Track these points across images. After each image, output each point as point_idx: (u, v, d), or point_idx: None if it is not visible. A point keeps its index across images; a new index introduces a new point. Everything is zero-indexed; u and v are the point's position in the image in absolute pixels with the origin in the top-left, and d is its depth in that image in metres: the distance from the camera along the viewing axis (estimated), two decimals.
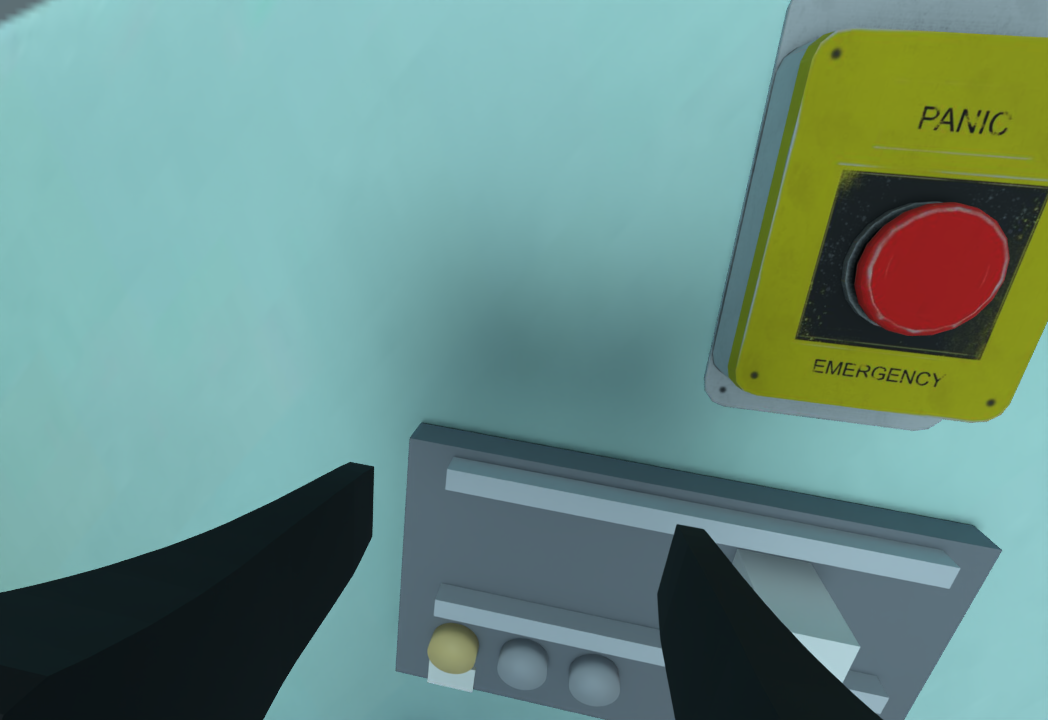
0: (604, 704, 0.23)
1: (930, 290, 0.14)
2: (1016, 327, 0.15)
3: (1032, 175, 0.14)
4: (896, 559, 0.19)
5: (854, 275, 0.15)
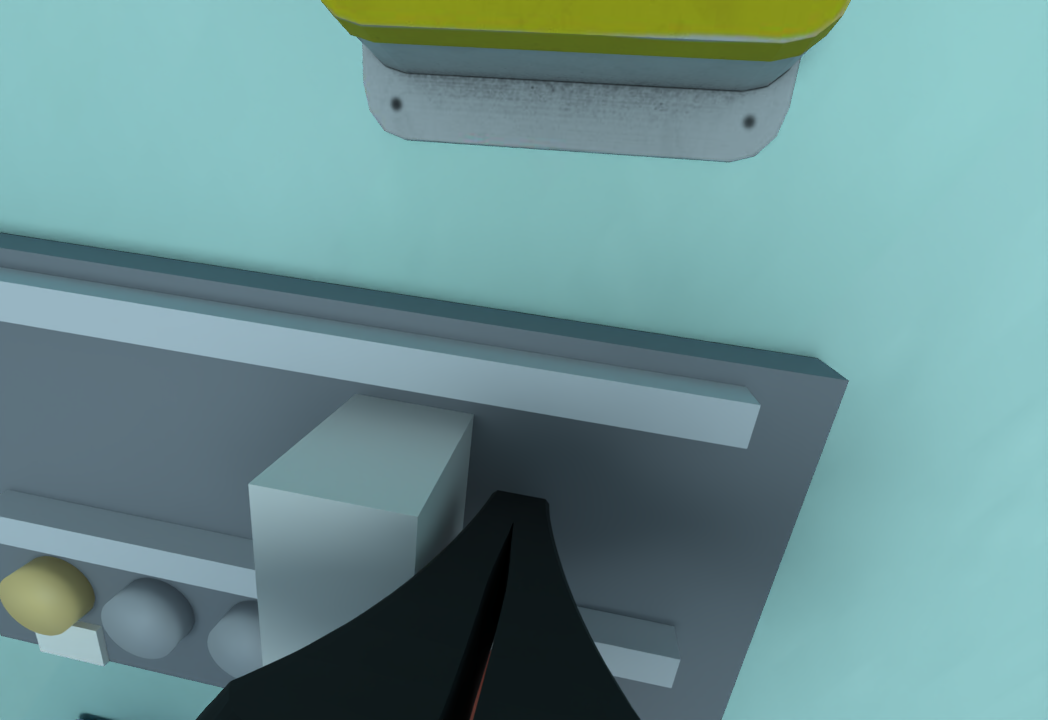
0: None
1: None
2: None
3: None
4: (646, 393, 0.10)
5: None
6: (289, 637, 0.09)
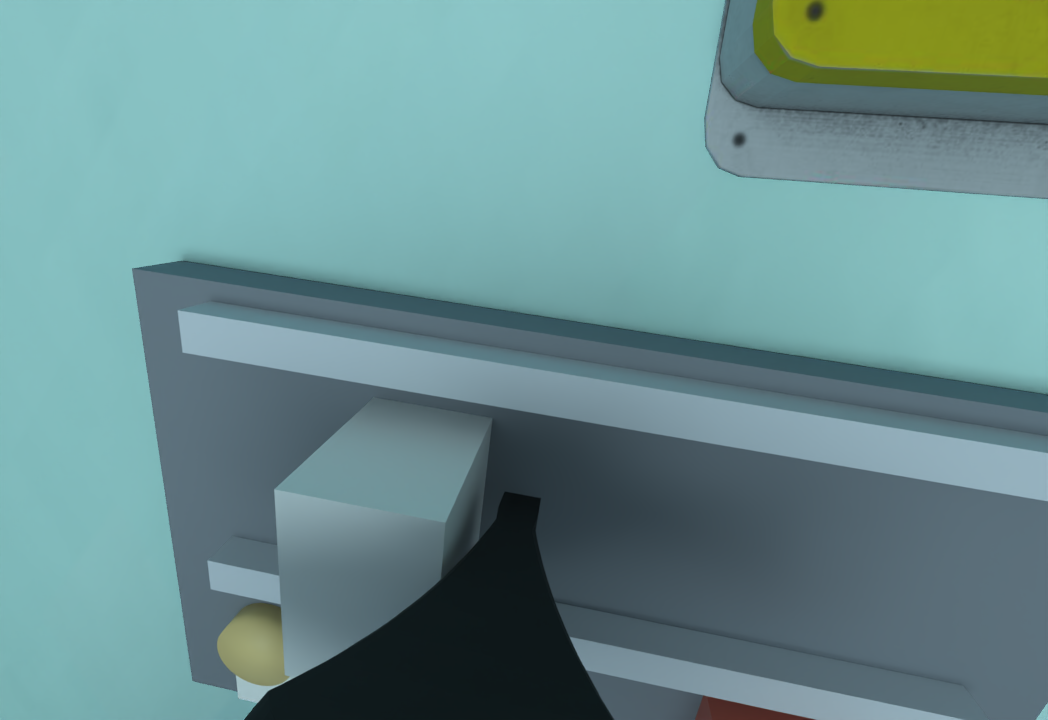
0: None
1: None
2: None
3: None
4: (1027, 457, 0.09)
5: None
6: (312, 643, 0.09)
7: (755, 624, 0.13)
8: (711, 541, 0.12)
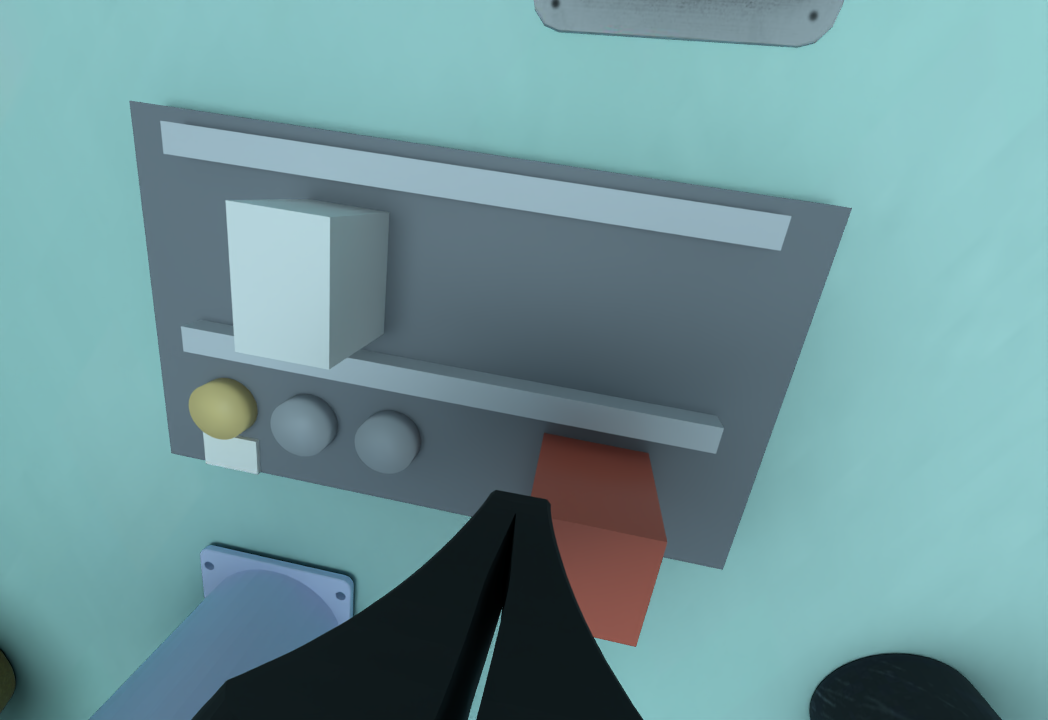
0: (398, 470, 0.19)
1: None
2: None
3: None
4: (711, 210, 0.14)
5: None
6: (252, 322, 0.14)
7: (572, 373, 0.18)
8: (536, 305, 0.17)
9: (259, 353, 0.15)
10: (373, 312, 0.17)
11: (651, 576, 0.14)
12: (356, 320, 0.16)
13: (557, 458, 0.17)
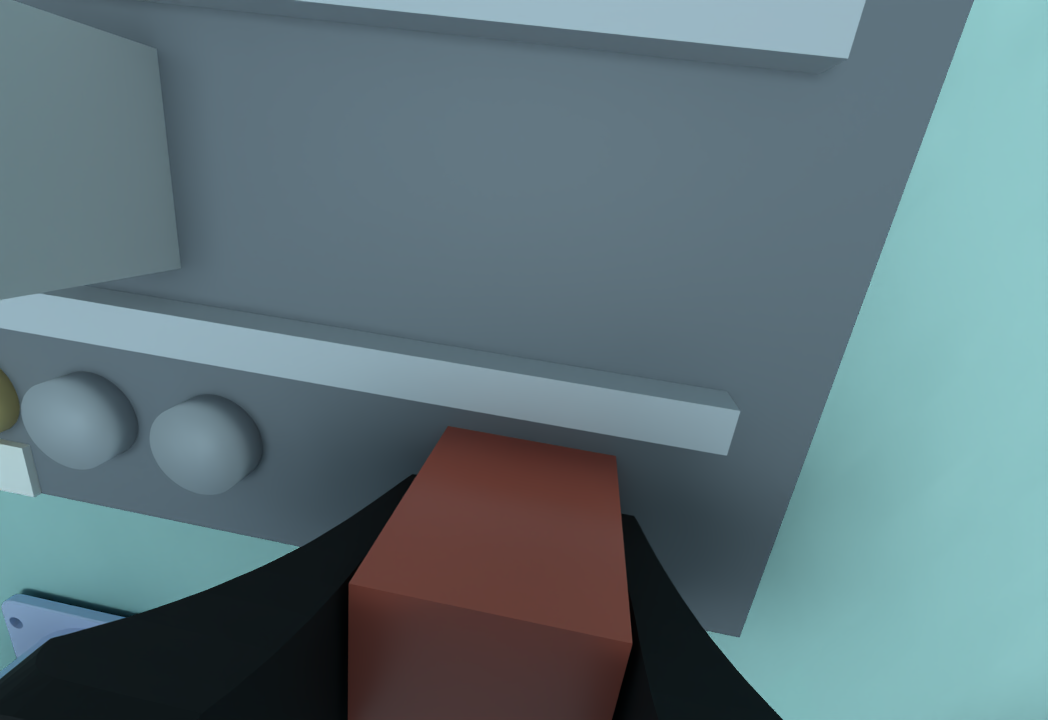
0: (223, 488, 0.12)
1: None
2: None
3: None
4: None
5: None
6: None
7: (485, 325, 0.11)
8: (415, 206, 0.10)
9: None
10: (136, 223, 0.10)
11: (604, 706, 0.07)
12: (69, 224, 0.09)
13: (455, 467, 0.10)
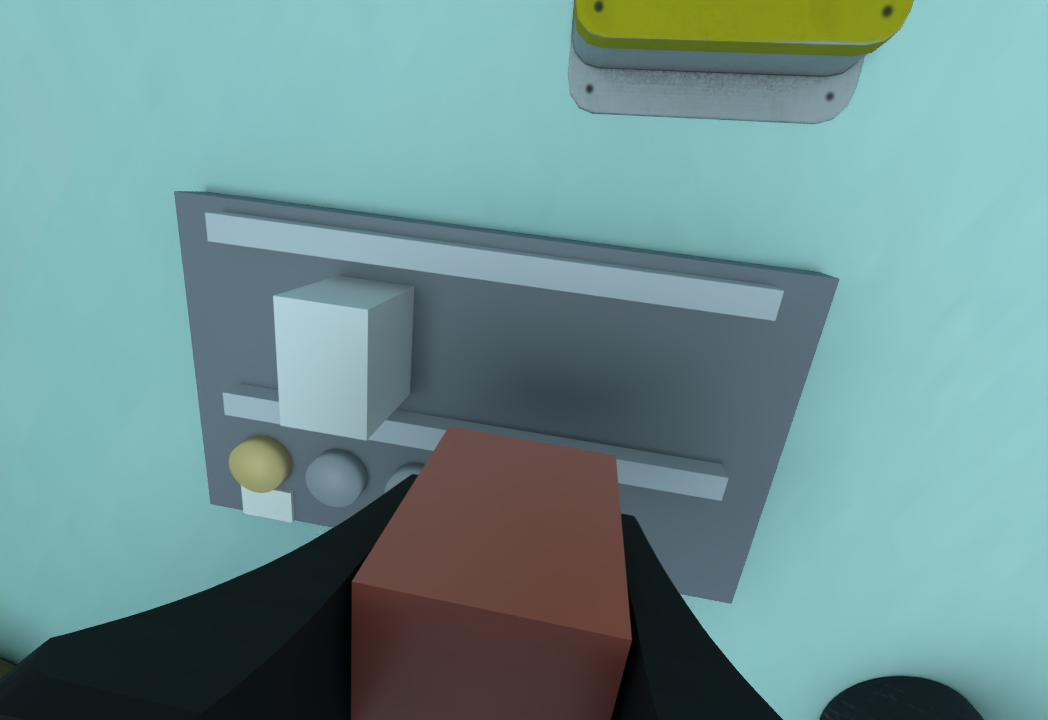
0: None
1: None
2: None
3: None
4: (711, 286, 0.16)
5: None
6: (296, 399, 0.16)
7: (586, 427, 0.19)
8: (551, 367, 0.18)
9: (302, 426, 0.16)
10: (401, 378, 0.18)
11: (604, 701, 0.07)
12: (387, 390, 0.17)
13: (456, 466, 0.10)
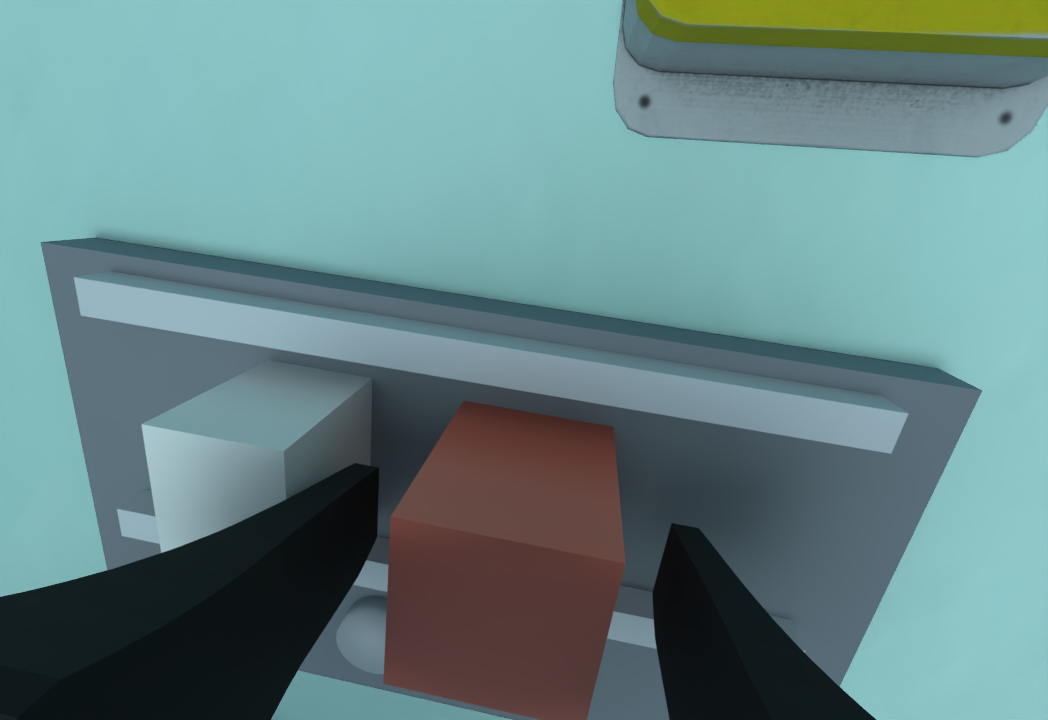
0: None
1: None
2: None
3: None
4: (799, 402, 0.11)
5: None
6: None
7: None
8: None
9: None
10: None
11: (602, 619, 0.08)
12: None
13: (472, 433, 0.11)
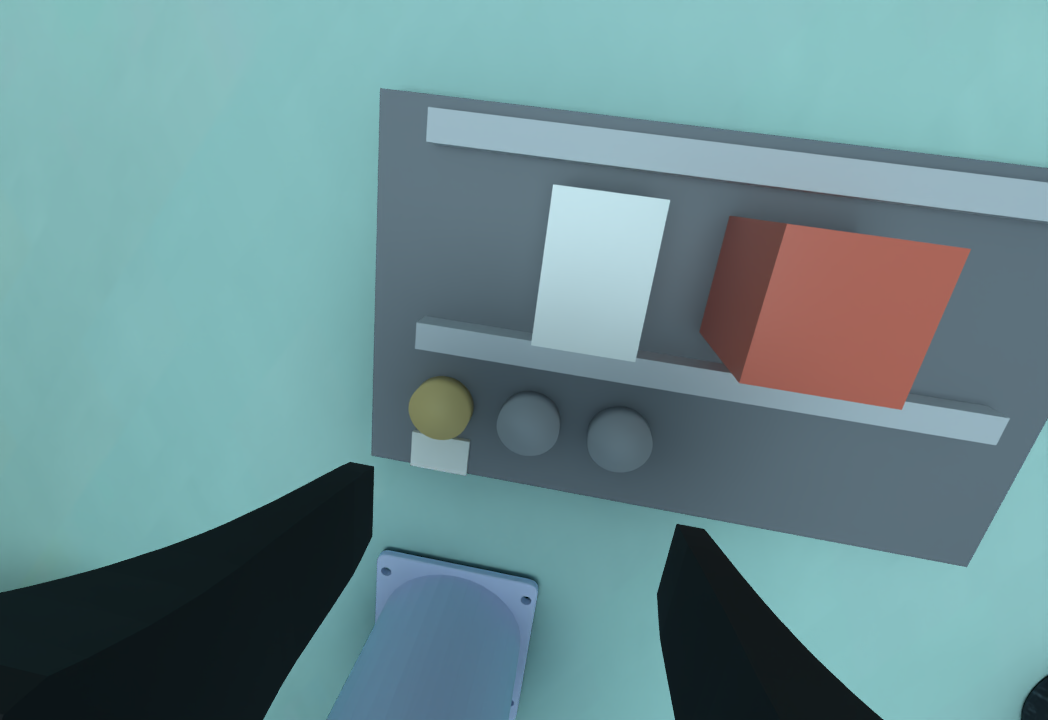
0: (632, 468, 0.18)
1: None
2: None
3: None
4: (1036, 187, 0.14)
5: None
6: (557, 313, 0.14)
7: None
8: None
9: (558, 346, 0.14)
10: None
11: (941, 302, 0.11)
12: None
13: None
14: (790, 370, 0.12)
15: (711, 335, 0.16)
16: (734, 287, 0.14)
